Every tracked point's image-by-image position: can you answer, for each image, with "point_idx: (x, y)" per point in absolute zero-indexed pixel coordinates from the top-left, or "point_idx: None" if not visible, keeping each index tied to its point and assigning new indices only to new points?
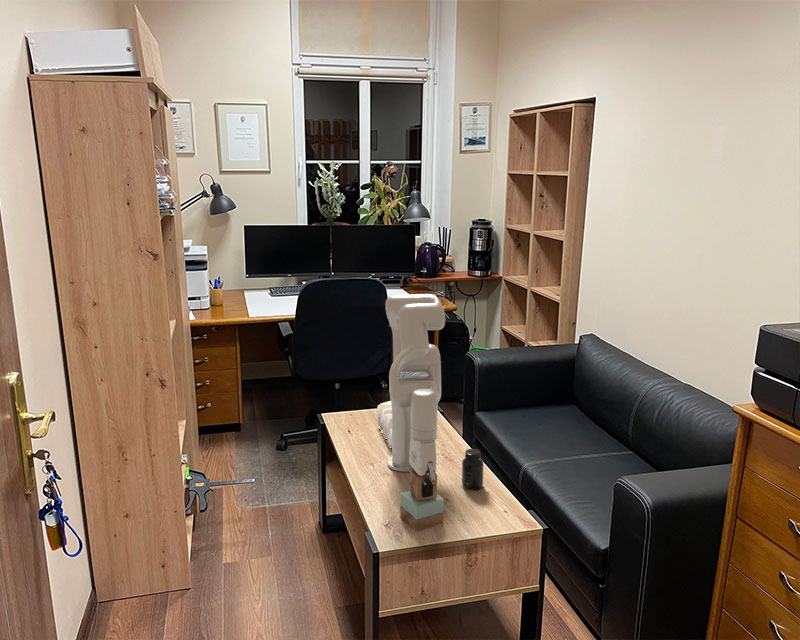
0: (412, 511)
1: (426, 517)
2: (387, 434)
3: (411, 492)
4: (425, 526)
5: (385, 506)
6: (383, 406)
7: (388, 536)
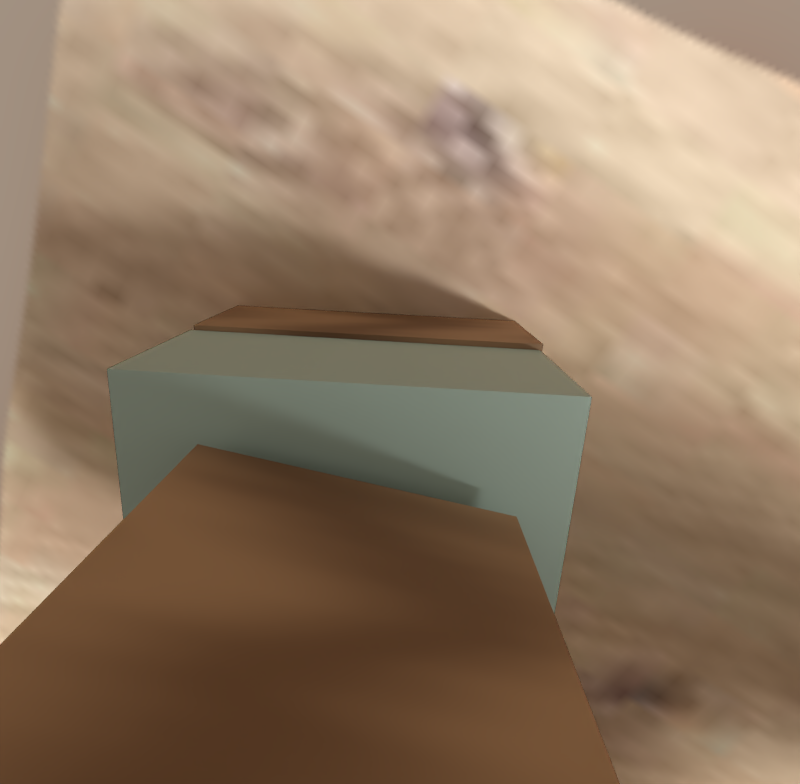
0: (271, 345)
1: None
2: None
3: (443, 508)
4: None
5: (756, 312)
6: None
7: (285, 19)
